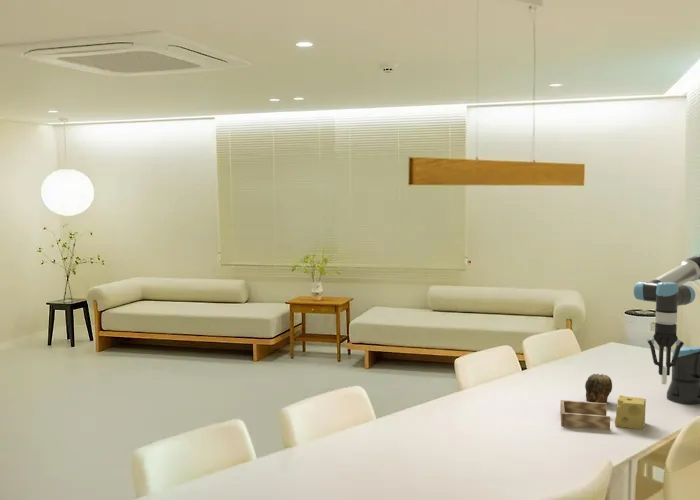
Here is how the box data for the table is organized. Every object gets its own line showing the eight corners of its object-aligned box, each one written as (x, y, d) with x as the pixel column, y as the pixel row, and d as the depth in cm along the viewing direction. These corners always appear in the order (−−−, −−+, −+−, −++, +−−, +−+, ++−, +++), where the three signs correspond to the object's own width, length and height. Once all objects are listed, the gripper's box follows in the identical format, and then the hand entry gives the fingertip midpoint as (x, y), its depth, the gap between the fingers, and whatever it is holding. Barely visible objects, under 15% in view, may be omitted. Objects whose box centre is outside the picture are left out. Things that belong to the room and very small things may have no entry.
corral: (606, 415, 285) (606, 403, 285) (609, 429, 268) (610, 417, 267) (560, 411, 290) (560, 399, 290) (561, 425, 273) (561, 413, 272)
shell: (607, 406, 297) (608, 378, 296) (581, 402, 304) (582, 374, 303) (615, 400, 306) (615, 373, 305) (589, 396, 312) (590, 369, 312)
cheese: (614, 426, 272) (615, 401, 271) (618, 418, 282) (619, 394, 281) (643, 430, 267) (644, 404, 266) (646, 422, 277) (647, 397, 276)
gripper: (682, 321, 270) (680, 382, 272) (646, 320, 273) (644, 379, 275) (686, 325, 263) (684, 387, 264) (649, 323, 266) (646, 384, 268)
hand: (663, 383), depth 270 cm, fingers closed
